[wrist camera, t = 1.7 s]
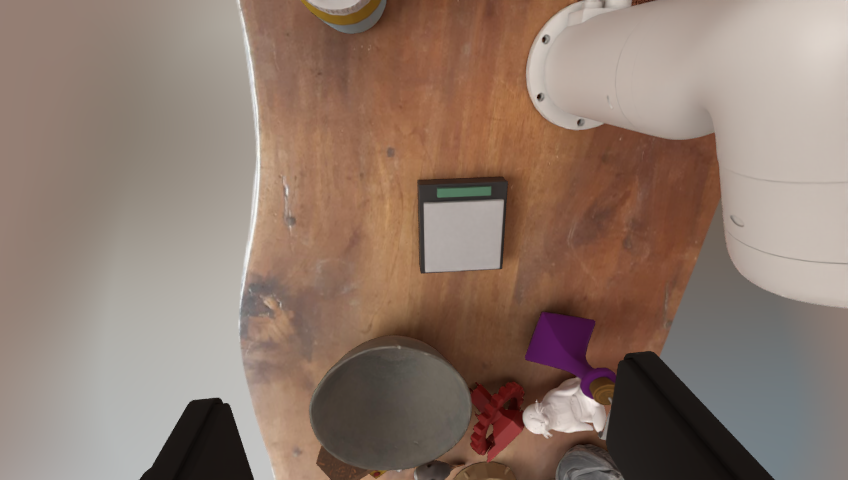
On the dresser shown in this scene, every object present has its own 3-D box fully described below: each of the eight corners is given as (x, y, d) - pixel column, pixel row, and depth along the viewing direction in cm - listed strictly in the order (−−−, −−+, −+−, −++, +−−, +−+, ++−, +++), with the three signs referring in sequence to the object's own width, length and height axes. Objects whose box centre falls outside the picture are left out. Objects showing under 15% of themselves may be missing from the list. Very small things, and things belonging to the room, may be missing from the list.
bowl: (446, 286, 52) (459, 333, 43) (467, 395, 60) (481, 455, 51) (303, 315, 52) (286, 368, 43) (342, 421, 60) (334, 485, 51)
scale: (417, 179, 47) (419, 186, 44) (503, 176, 47) (509, 182, 45) (419, 265, 51) (421, 276, 49) (497, 261, 52) (503, 271, 49)
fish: (394, 462, 49) (433, 449, 49) (433, 457, 67) (462, 448, 67) (402, 504, 47) (443, 491, 47) (441, 488, 65) (470, 478, 65)
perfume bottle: (534, 299, 55) (598, 400, 38) (584, 307, 56) (668, 408, 39) (517, 344, 57) (570, 457, 41) (565, 351, 58) (636, 463, 42)
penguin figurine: (577, 371, 62) (504, 393, 60) (609, 377, 54) (526, 402, 52) (590, 414, 61) (517, 437, 59) (625, 426, 53) (541, 454, 51)
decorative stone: (631, 494, 70) (588, 440, 76) (672, 470, 60) (619, 410, 66) (570, 546, 64) (529, 483, 70) (605, 528, 54) (553, 457, 60)
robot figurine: (310, 433, 59) (353, 462, 66) (318, 500, 51) (365, 523, 59) (376, 393, 59) (411, 426, 66) (393, 454, 51) (431, 483, 59)
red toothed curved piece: (519, 415, 65) (480, 375, 67) (551, 398, 55) (504, 352, 57) (476, 469, 59) (435, 424, 62) (502, 461, 49) (452, 408, 52)
